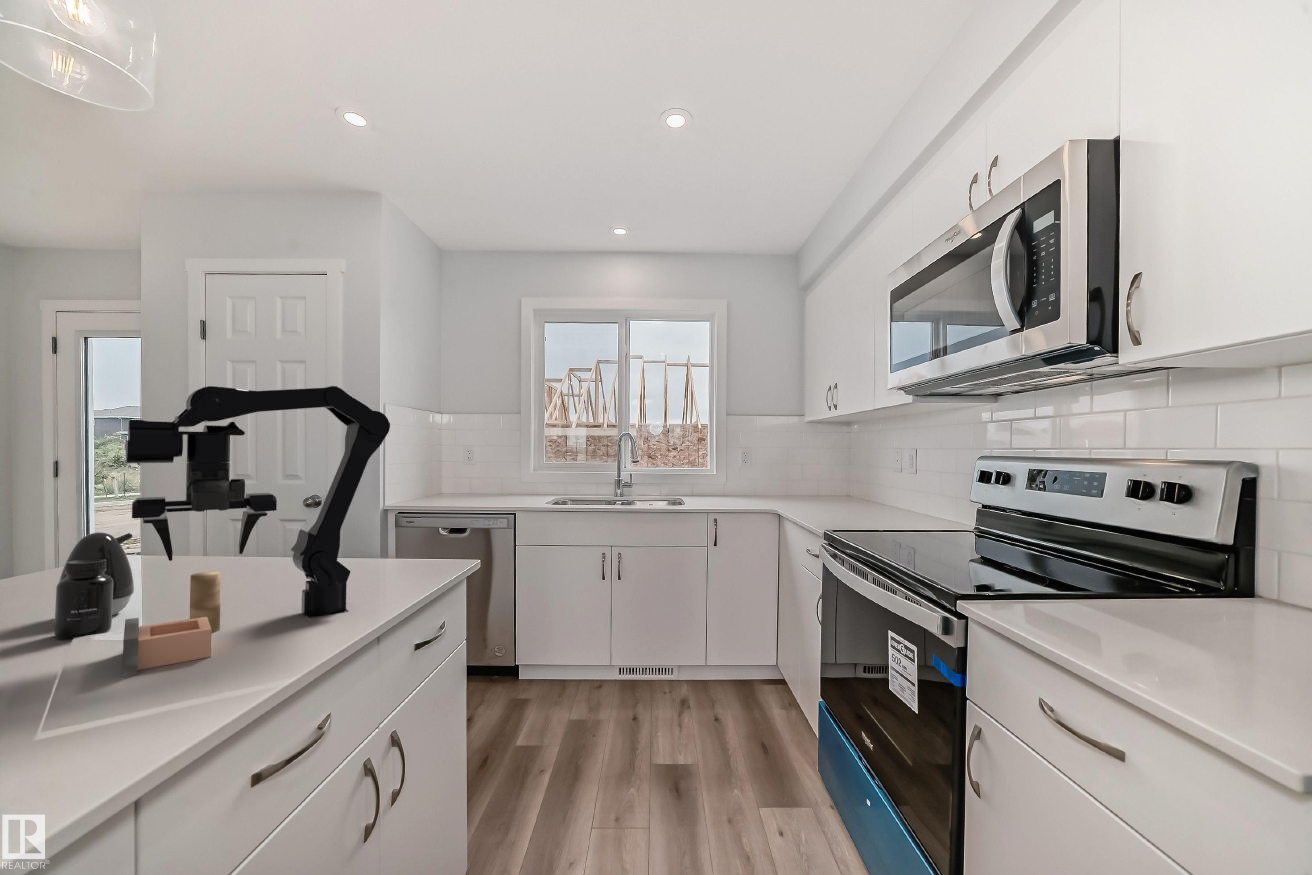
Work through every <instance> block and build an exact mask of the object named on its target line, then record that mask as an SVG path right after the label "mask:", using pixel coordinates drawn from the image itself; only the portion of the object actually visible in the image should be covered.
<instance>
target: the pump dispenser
mask: <svg viewBox="0 0 1312 875" xmlns="http://www.w3.org/2000/svg"><path fill="white" fill-rule="evenodd" d="M133 537H134V536H133V534H132V533H131V532H128V533H126V534H123V535H120V536H118V537H114V536H113V535H111V534H110V533H106V532H103V531H101V532H99V531H97V532H93V533H89V534H87V535H85V536H83V537H82V538H80V539H79V540H78V541H77V543H76V544H75V545H74V547H73V549H72V550H71V551H70V554H69V555H68V557H67V559H66V562H65V563H64V566H63V569H62V571H61V573H60V577H59V580H58V583H59V582H60V581H61V580H63V579H65V578H67V574H65V571H66V564H67V562H70V561H75V560H83V559H106V567H107V570H106V571H104V574H106V575H109V576H110V577H112V579H113V583H114V584H113V605H112V617H113V616H114V615H117V614H118V613H120V612H122V611H123V609H125V608H126V607H127V605H128V604H129V602H130V599H131V597H132V595H133V594H134V592H135V584H134V578H133V573H132V568H131V564H130V561H129V558H128V556H127V554H126V552H125V549H124V547H122V544H124V543H125V542H127V541H129V540H131V539H132V538H133Z"/></svg>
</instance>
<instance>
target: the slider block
mask: <svg viewBox="0 0 1312 875" xmlns="http://www.w3.org/2000/svg"><path fill="white" fill-rule="evenodd" d="M211 630H212V629H211V626H210V624H209V621H208V618H207V617H202V618H195V619H190V618H188V619H182V620H175V621H168V622H161V623H156V624H149V625H148V624H147V625H142V626H140V625H139V637H138V671H140V670H145V669H152V668H157V667H163V666H168V665H172V664H178V663H183V662H184V663H185V662H189V661H194V660H200V659H206V658H211V657H212V633H211Z"/></svg>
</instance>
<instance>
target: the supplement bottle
mask: <svg viewBox="0 0 1312 875" xmlns="http://www.w3.org/2000/svg"><path fill="white" fill-rule="evenodd" d="M106 570H107V567H106V559H83V560H75V561H70V562H67V564H66V571H65V574H67V578H65V579H63V580H61V581H60V582H59V581H58V583H57V584H56V590H55V608H54V611H55V612H54V624H53V625H54V626H53V627H54V628H53V629H54V632H53V636H54V637H55V638H56V639H59V640H74V638H80V637H88V636H96V635H101V634H105V633H107V632H109V631H110V630H111V629H112V622H113V616H112V605H113V584H114V583H113V579H112V577H110V576H109V575H106V574H104V571H106Z"/></svg>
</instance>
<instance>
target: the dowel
mask: <svg viewBox="0 0 1312 875" xmlns="http://www.w3.org/2000/svg"><path fill="white" fill-rule="evenodd" d="M221 582H222V572H221V571H203V572H197V573H193V574H190V584H189V588H190V589H189V593H190V594H189V619H195V618H202V617H207V618H208V621H209V624H210V626H211V629H212V630H211V634H215V633H217V632H219V631H220V629H221V592H222V590H221V589H222V585H221V584H222V583H221Z"/></svg>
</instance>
